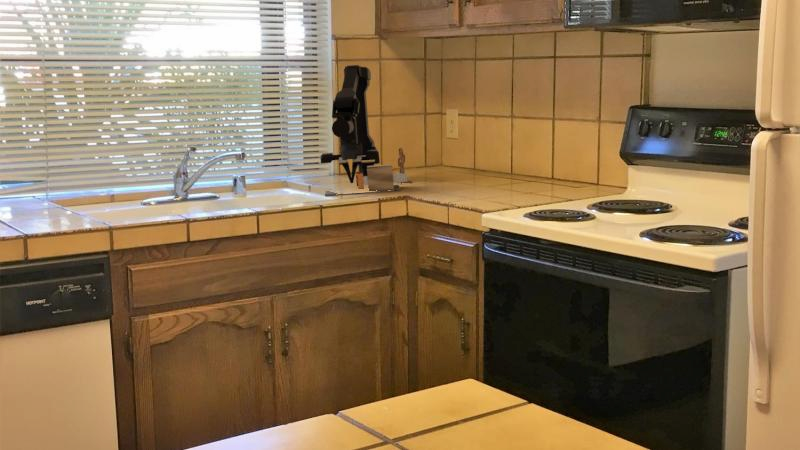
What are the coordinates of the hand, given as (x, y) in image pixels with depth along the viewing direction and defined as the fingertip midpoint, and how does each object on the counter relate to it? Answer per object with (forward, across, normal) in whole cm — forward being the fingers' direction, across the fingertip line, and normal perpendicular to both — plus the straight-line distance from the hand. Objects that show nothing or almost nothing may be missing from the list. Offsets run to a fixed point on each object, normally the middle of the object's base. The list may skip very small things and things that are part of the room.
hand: (351, 183), depth 294 cm
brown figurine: (+3, +17, +16) cm, 24 cm away
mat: (+3, +3, 0) cm, 4 cm away
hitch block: (+3, +9, 0) cm, 10 cm away
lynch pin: (+2, +10, 0) cm, 10 cm away
